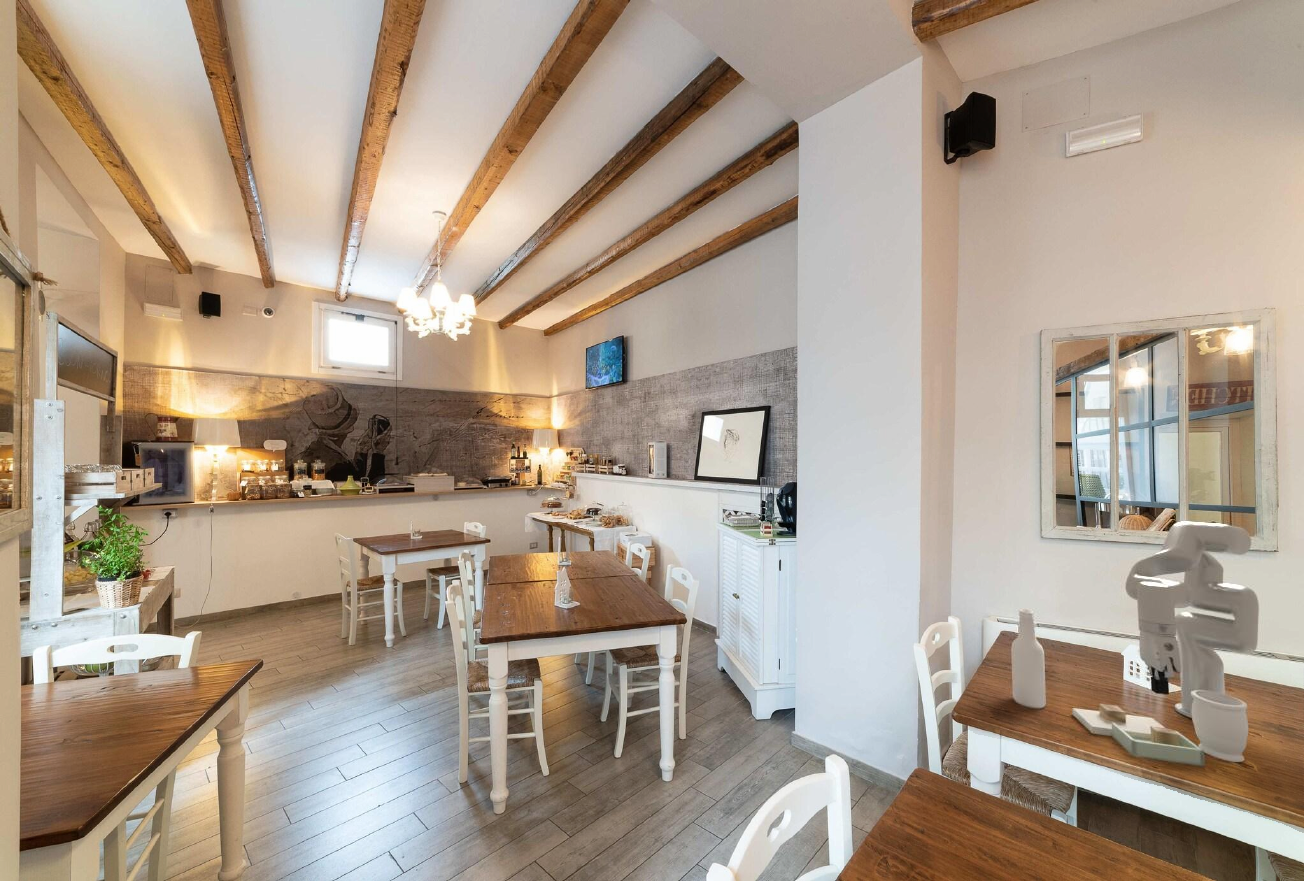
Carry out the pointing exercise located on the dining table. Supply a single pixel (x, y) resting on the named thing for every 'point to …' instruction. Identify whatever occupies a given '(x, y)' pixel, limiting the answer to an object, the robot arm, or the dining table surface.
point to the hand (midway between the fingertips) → (1160, 692)
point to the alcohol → (1028, 664)
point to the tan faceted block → (1164, 736)
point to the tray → (1160, 748)
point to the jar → (1220, 724)
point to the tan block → (1112, 713)
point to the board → (1100, 725)
